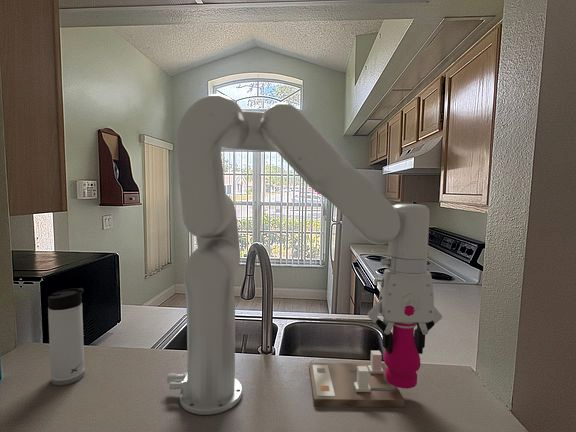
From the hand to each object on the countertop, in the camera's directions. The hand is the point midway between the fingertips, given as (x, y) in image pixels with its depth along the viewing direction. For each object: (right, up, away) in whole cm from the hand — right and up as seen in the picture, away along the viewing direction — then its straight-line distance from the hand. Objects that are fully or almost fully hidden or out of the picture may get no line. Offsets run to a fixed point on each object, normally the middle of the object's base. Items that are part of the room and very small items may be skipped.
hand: (403, 349), depth 71 cm
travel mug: (-73, -9, +5) cm, 73 cm away
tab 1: (-8, -8, +1) cm, 12 cm away
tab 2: (-4, -8, +8) cm, 12 cm away
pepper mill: (0, -7, +1) cm, 7 cm away
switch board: (-10, -10, +4) cm, 14 cm away
